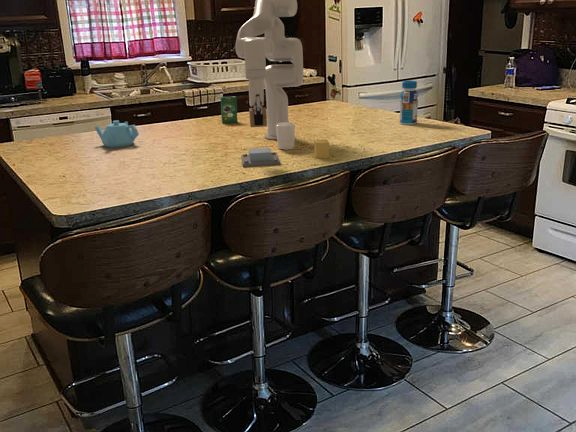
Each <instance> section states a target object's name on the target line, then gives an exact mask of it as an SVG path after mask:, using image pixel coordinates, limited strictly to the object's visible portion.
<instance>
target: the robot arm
mask: <svg viewBox="0 0 576 432" xmlns="http://www.w3.org/2000/svg"><path fill="white" fill-rule="evenodd" d="M253 9H254V10H253V15H252V17H251V18H250V19H249V20H247V21H246V22H245V23H244V24H243V25H241V27H240V28H238V29H239V30H238V31H237V34H236V35H237V36H236V40H235V53H236V55H237V57H238V58H240V59H244V67H245V68H244V70H245V71H244V72H245V79H246V80H248V102H249V106H250V107H251V108H252V107H253V108H254V111H255V114H254V124H255V125H263V114H262V108H263V106H264V103H265V102H264V101H266V103H265V104H266V113H267V127H266V128H267V133H265V134H264V139H267V140H277V135H276V124H277V123H283V122H289V98H288V95H287V93H286V92H285V90H284V89H283V88H290V87H291V88H293V87H295V88H296V87H300V86H302V84H303V83H304V55H303V54H304V53H303V51H304V49H303V45H302V41H301V39H300V38H297V37H286V36H285V25H284V22H282V20H281V19H280V18H287V17H289V18H290V17H294V16H295V15H296V14H297V12H298V1H297V0H255V1H254V8H253ZM261 35H264V36H261ZM257 36H258V37H257ZM266 59H267V60H268V61H269V62H291V63H292V64H291V63H290V64H269V65H267V62H266ZM264 90H265V91H264ZM264 92H265V93H264ZM264 97H265V98H264Z"/></svg>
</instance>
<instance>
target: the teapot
mask: <svg viewBox="0 0 576 432" xmlns="http://www.w3.org/2000/svg"><path fill="white" fill-rule="evenodd" d="M94 129H95V131H96V133H97V135H98V136H99V138H100V140H101V143H102V144H103V146H104V147H106V148H112V149H114V148H115V149H116V148H125V147H126V148H127V147H129V146H132V145H133V143H134V142H135V140H136V139H137V137H138V136H139V131H138V129H137V127H136V124H131V125H129V122H128V121H124V122H120V120H113V121H112V123H110V124H107V125H106V126H105V127H104V130H103V129H102V128H101V127H100V126H99V125H97V126H96V125H95V126H94Z"/></svg>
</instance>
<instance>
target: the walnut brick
mask: <svg viewBox="0 0 576 432" xmlns="http://www.w3.org/2000/svg"><path fill="white" fill-rule="evenodd" d="M248 111H249V112H248V113H249V126H250V128H263V127H265V128H268V127H267V107H262V114H263V125H255V124H254V114H255V111H254V108H252V107H251V108H248Z"/></svg>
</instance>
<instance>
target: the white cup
mask: <svg viewBox="0 0 576 432" xmlns="http://www.w3.org/2000/svg"><path fill="white" fill-rule="evenodd" d="M295 130H296V123H295V122H283V123H277V124H276V135H277V139H276V142H277V148H278V149H279V150H281V149H284V150H283V151H285V150H288V149H289V150H293V149H295V140H296V139H295V138H296V134H295V133H296V131H295Z"/></svg>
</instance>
